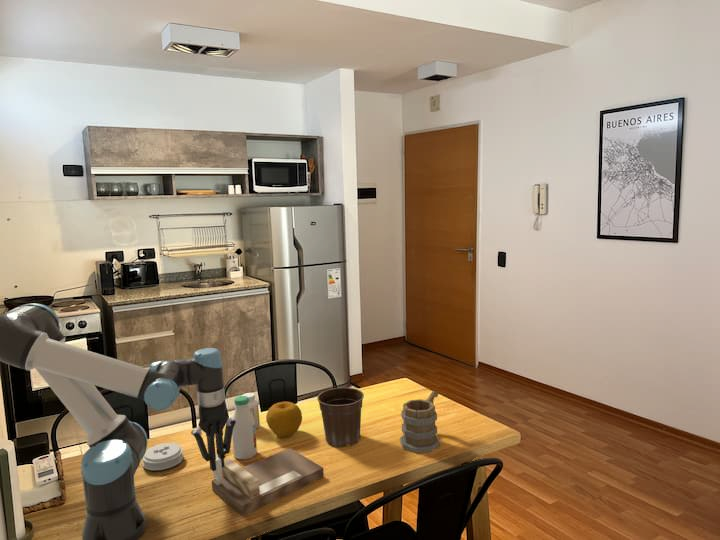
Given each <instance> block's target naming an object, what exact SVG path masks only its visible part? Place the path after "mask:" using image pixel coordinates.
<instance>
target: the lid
mask: <svg viewBox="0 0 720 540" xmlns="http://www.w3.org/2000/svg"><path fill="white" fill-rule="evenodd" d="M183 449H184V448H183V446H182V445H179V444H177V443H173V442H165V443H163V442H162V443H158V444H155V445H153V446H151V447H149V448H147V449H146V452H145V455H144V457H143V458H142V459H141V461H142V467H143V468H144V469H146V470H147V471H148V470H149V471H163V470H167V469H170V468H172V467H175V466H177V465H179V464H180V463H181V462H182V461H183V460H184V453H183V451H184V450H183Z"/></svg>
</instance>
